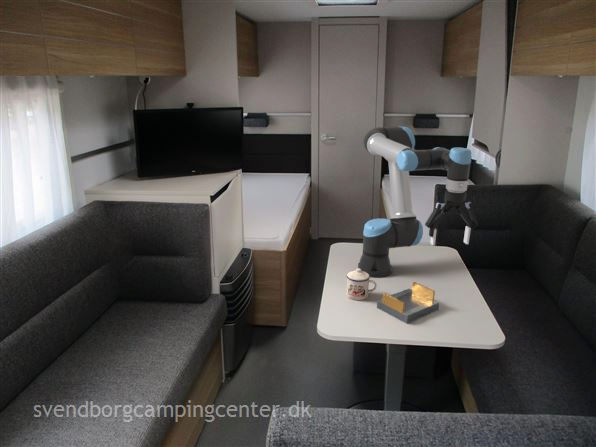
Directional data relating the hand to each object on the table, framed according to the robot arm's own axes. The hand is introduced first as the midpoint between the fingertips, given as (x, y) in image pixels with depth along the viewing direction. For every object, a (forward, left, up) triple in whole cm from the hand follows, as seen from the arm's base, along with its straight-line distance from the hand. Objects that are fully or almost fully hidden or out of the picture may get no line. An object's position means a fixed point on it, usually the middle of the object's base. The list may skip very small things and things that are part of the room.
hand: (449, 243), depth 193 cm
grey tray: (-3, -17, -24) cm, 30 cm away
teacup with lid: (-22, -24, -24) cm, 40 cm away
